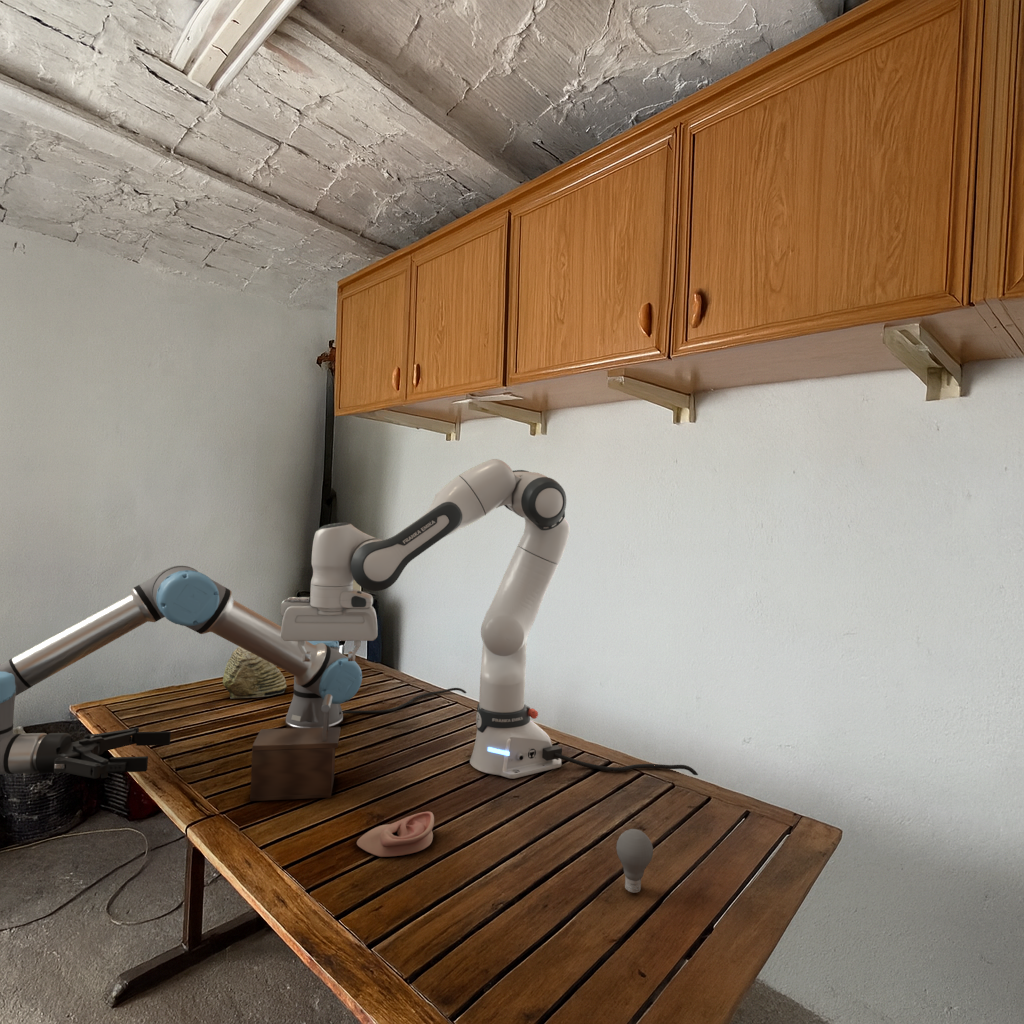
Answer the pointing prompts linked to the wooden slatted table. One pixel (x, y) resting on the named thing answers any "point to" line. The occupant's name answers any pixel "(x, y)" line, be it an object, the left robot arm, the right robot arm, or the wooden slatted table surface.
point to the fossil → (252, 676)
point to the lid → (300, 735)
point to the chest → (292, 774)
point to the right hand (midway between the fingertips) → (329, 660)
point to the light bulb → (634, 857)
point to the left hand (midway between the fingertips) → (159, 750)
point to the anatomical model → (399, 836)
